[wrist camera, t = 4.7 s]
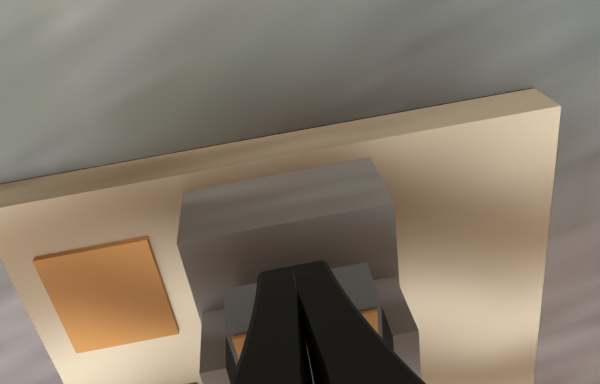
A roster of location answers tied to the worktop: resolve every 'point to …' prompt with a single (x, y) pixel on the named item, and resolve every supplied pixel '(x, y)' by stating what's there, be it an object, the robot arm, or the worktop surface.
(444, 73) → the worktop surface
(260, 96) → the worktop surface
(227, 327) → the rocker
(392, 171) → the switch panel
